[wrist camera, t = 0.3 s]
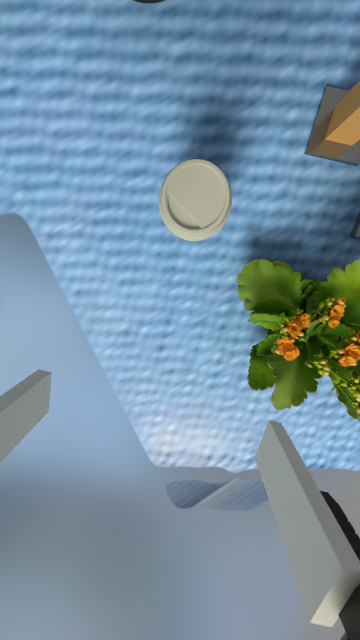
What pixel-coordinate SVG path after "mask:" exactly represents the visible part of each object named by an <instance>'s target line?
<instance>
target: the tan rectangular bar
mask: <svg viewBox="0 0 360 640" xmlns="http://www.w3.org/2000/svg"><path fill="white" fill-rule="evenodd" d="M325 140H330V141H334V142H339V143H343V144H347V145H353V144H355V143H356V142H357V141H359V140H360V80H359V81H358V82H357V84H356V85H355V86H354V87H353V88H352V89H351V90H350V91H349V92H348V93H347V94H346V95H345V97H344V98H343V99H342V100H341V101H340V102H339V103H338V104H337V105H336V106H335V109H334V112H333V116H332V119H331V122H330V125H329V128H328V131H327V134H326V137H325Z"/></svg>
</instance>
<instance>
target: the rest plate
mask: <svg viewBox="0 0 360 640" xmlns="http://www.w3.org/2000/svg"><path fill="white" fill-rule="evenodd" d="M348 92H349V91H347V90H343V89H338V88H334V87H330V86H326V88H325V89H324V92H323V95H322V98H321V101H320V105H319V108H318V111H317V114H316V118H315V121H314V124H313V128H312V131H311V134H310V137H309V141H308V144H307V147H306V150H305V154H306V155H311V156H315V157H320V158H324V159H328V160H333V161H337V162H342V163H346V164H350V165H355V166H357V165H359V164H360V140H359V141H357V142H356V143H355V144H353V145H347V144H343V143H339V142H334V141H330V140H325V137H326V134H327V131H328V128H329V125H330V122H331V119H332V116H333V112H334V109H335V106H336V105H337V104H338V103H339V102H340V101H341V100H342V99H343V98H344V97H345V95H346V94H347V93H348Z"/></svg>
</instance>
